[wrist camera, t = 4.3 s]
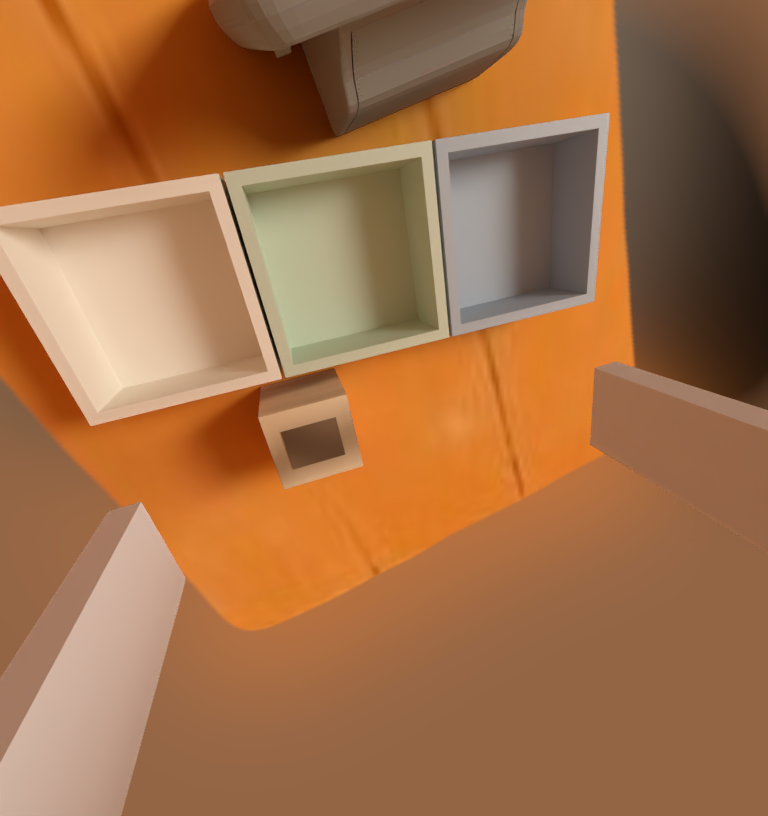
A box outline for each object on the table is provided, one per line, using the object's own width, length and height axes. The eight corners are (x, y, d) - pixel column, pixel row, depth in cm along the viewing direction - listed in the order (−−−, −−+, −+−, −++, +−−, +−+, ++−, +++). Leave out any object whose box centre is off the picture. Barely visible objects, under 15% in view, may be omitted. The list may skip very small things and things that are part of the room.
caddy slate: (408, 156, 22) (435, 139, 18) (556, 132, 23) (609, 112, 20) (427, 322, 26) (452, 336, 22) (551, 293, 28) (594, 301, 24)
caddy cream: (25, 218, 18) (-37, 212, 15) (228, 185, 20) (218, 173, 16) (120, 396, 23) (90, 426, 19) (280, 357, 24) (282, 378, 21)
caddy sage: (232, 184, 20) (222, 172, 16) (404, 156, 22) (431, 139, 18) (284, 357, 24) (285, 377, 21) (424, 323, 26) (449, 337, 22)
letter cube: (260, 386, 25) (257, 418, 20) (334, 367, 26) (346, 394, 21) (282, 449, 27) (284, 490, 23) (349, 430, 28) (363, 466, 24)
